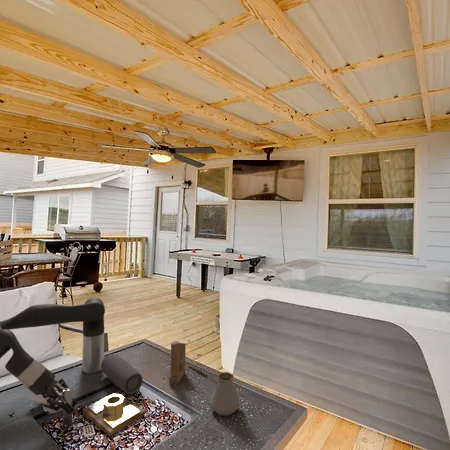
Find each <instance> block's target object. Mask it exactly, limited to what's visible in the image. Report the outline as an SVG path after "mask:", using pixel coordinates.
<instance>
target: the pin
mask: <svg viewBox="0 0 450 450" xmlns="http://www.w3.org/2000/svg"><path fill="white" fill-rule="evenodd" d="M73 395H74V394H73V388H72V387H69V388H66V389H64V390H63V399H64V400H65V401H66V403H67V402H68V403H69V404H70V405H71V406H72V400H73V399H74V397H73ZM72 423H73V412H72V413H71V414H68V413H67V412H66V411H64V410H62V426H63V427H68V426H70V425H72Z"/></svg>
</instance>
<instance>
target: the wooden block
mask: <svg viewBox="0 0 450 450" xmlns="http://www.w3.org/2000/svg"><path fill="white" fill-rule="evenodd" d="M186 348H187V347H186V343H183V342H179V341H177V340H175V341H172V342H171V343H170V375H169V376H168V377H169V383H168V384H169V385H172V386H177V385H178V384H179V383H180V381H181V380H182V378H183V376H185V373H186V351H187V350H186Z"/></svg>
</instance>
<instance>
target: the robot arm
mask: <svg viewBox="0 0 450 450" xmlns="http://www.w3.org/2000/svg"><path fill="white" fill-rule="evenodd" d="M105 312H106V307H105V304H104V302H103V300H101V298H98V297H91V298H88V299H87V300H86V301H85V302H84V304H83V303H82V304H78V305H76V304H75V305H66V304H65V305H64V304H59V303H58V304H57V303H45V304H44V303H43V304H34V305H30V306H28V307H27V308H25V309H24V310H22V311H20V312H19V313H17V314H16V315H13V316H12V317H10V318H8V319H4V320H1V321H0V359H1V358H3V357H4V356H5V355H6V354H7V353H8V352H9V351H10V350H12V355H11V357H10V358H9V360H7V362H6V364H5V365H4V368H5V369H6V371H7V372H9V373H10V374H11V375H12V376H13V377H15V378H16V379H17V380H18V381H19V383H21V385H23V386H24V387H25V388H27V389H28V390H29V391H30V392H32V394H33V393H34V394H35V395H39V394H41V395H42V396H43V398H44V399H45V402H44V403H43V406H44V407H47V408H50V409H52V410H55V411H58V410H59V409H63V410H64V411H66V412H67V413H68V414H71V413H72V414H73V412H74V411H75V407H76V406H77V405H78V401H77V400H76V399H75V398H73V400H72V406H71V405H70V404H69V403H68V402H67V403H66V401H65V400H64V399H63V390H64V389H66V388H70V387H69V386H68V384H67V383H66V381H65V380H64V379H63V378H60V379H59V380H56V379H55V377H56V375H55V374H54V372H51V370H49V369H48V368H47V367H46V366H45V365H43V364H42V363H41V362H40V361H38V360H36V359H35V358H33V356H31V355H30V354H29V353H28V352H27V351H26V350H25V349H24V348H23V346H22V345H21V343H20V342H19V340H18V338H17V336H16V334H15V333H14V332H13V331H12V330H19V329H25V328H39V327H47V326H53V325H60V324H68V323H82V359H81V360H82V366H81V367H82V372H83V374H87V375H88V374H89V375H90V374H91V375H92V374H97V373H100V372H101V371H103V370H102V369H101V364H102V361H103V359H104V358H105ZM57 398H58V399H57ZM56 399H57V400H56ZM59 401H61V402H62V403H61V402H59ZM55 405H56V406H57V407H56V406H55ZM63 410H62V411H63Z"/></svg>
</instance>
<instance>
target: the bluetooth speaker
mask: <svg viewBox="0 0 450 450" xmlns="http://www.w3.org/2000/svg"><path fill="white" fill-rule="evenodd" d="M101 369H102V370H101V371H102V372H103V373H104V374H105V376H106V377H107V378H108V379H109V380H110V381H111V383H112V384H113V385H115V386H116V387H118V388H119V389H120V390H121V391H122V392H124V393H125V394H127V395H132V394H135V393H136V392H138V391H139V390H140V389H141V387H142V384H143V381H144V379H143V376H142V374H141V373H140V372H139V370H137V369H136V368H135V367H134V366H133V365H131V364H130V363H129V362H128V361H126V360H125V359H124V358H123V357H121V356H119V355H117V354H116V353H115V354H114V353H110V354H108V355H106V356H104V359H103V361H102V364H101Z"/></svg>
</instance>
